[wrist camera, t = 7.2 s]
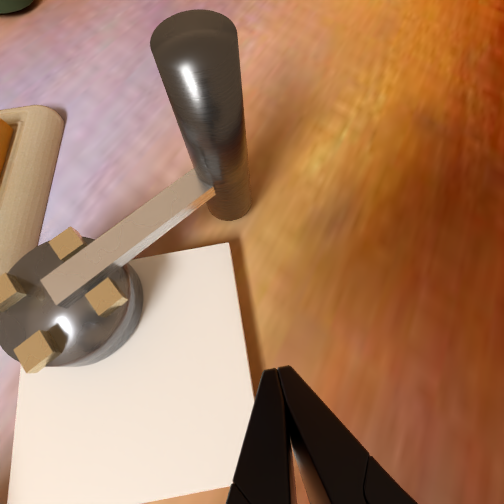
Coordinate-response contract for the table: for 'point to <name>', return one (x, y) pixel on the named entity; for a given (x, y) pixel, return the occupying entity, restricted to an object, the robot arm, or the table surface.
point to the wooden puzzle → (25, 176)
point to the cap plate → (144, 397)
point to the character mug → (13, 5)
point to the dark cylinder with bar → (144, 218)
